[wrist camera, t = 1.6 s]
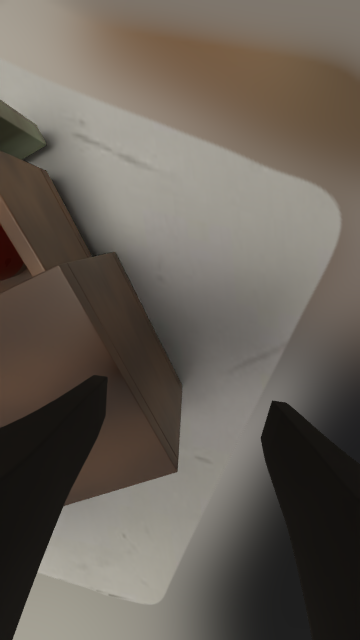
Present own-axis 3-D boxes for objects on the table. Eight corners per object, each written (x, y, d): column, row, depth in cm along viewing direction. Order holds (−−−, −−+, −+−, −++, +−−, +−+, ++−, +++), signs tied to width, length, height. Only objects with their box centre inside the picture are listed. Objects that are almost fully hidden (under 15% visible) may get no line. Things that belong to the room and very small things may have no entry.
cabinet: (-22, 316, 21) (-155, 368, 13) (115, 251, 19) (58, 264, 11) (59, 430, 25) (-6, 527, 17) (182, 386, 23) (177, 472, 14)
